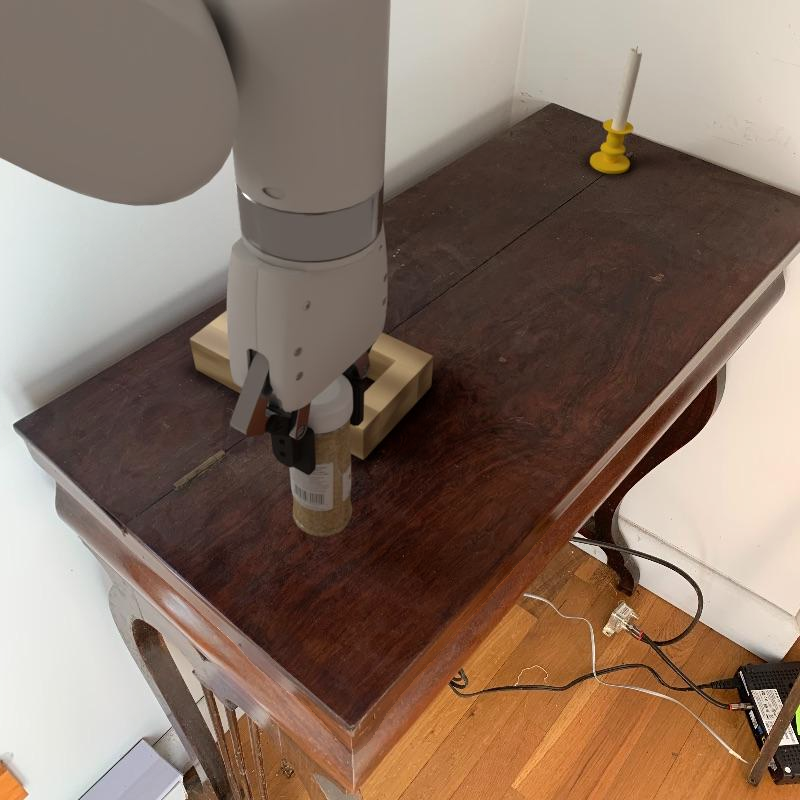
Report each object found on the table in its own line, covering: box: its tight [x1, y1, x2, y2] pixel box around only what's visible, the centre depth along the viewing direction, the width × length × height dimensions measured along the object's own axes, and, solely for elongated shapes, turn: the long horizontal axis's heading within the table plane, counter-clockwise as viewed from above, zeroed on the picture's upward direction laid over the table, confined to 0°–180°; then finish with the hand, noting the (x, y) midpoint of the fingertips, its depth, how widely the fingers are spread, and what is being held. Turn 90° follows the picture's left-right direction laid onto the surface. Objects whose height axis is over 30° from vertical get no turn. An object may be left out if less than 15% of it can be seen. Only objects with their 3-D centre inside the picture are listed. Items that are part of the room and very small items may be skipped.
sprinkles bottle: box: [288, 374, 353, 537], centre depth 56 cm, size 5×5×14 cm
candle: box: [589, 45, 643, 175], centre depth 102 cm, size 5×5×16 cm
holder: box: [189, 310, 434, 461], centre depth 76 cm, size 11×20×4 cm, turn 56°
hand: (319, 436), depth 55 cm, fingers closed on sprinkles bottle, 4 cm apart
